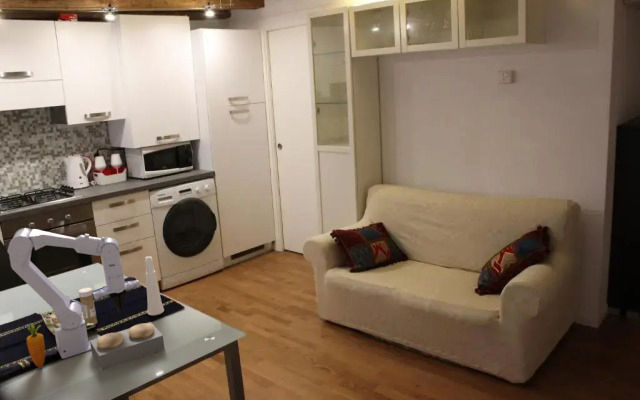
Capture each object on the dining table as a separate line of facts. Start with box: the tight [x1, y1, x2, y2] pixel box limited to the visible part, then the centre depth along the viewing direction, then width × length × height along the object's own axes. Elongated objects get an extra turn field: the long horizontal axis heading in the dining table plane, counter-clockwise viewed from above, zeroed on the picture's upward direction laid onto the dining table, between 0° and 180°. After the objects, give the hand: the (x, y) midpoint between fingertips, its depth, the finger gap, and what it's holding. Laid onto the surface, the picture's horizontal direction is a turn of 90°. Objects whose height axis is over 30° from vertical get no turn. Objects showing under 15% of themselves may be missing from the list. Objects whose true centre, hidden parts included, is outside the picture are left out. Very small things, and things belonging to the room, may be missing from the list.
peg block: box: [89, 321, 166, 371], centre depth 181 cm, size 20×12×5 cm, turn 125°
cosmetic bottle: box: [144, 255, 165, 316], centre depth 206 cm, size 6×6×22 cm
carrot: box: [26, 323, 46, 369], centre depth 172 cm, size 5×5×15 cm
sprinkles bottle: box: [78, 287, 98, 325], centre depth 200 cm, size 5×5×13 cm
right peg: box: [128, 322, 155, 339], centre depth 183 cm, size 8×8×6 cm
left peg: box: [96, 332, 124, 350], centre depth 178 cm, size 8×8×6 cm
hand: (120, 312), depth 187 cm, fingers closed
